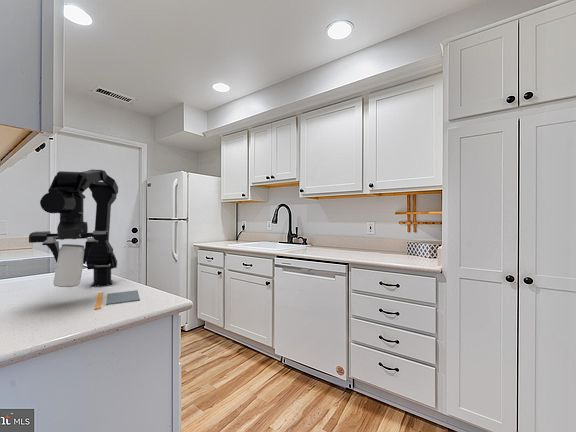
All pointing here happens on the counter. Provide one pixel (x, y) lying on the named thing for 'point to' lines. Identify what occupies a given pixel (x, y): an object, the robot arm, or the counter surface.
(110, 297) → the mat
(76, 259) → the can
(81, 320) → the counter surface
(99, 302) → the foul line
